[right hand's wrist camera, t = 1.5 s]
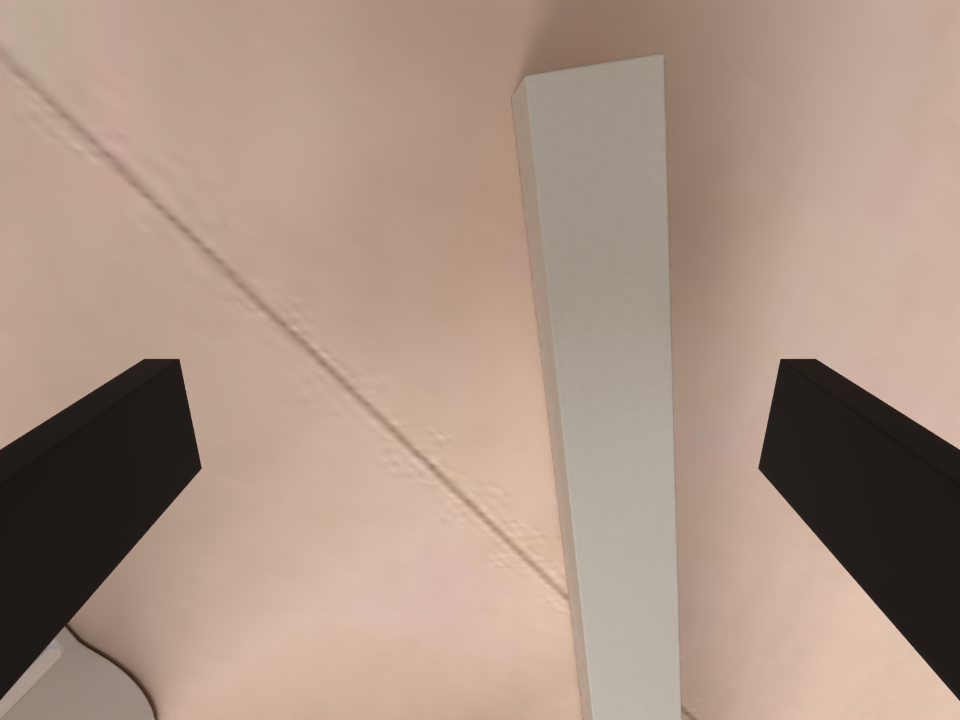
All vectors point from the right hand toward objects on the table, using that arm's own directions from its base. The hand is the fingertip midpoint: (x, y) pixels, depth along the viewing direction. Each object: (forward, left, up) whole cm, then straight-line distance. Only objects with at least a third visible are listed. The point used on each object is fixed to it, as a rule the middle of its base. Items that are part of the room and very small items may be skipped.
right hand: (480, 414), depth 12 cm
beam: (+10, +18, -17) cm, 26 cm away
